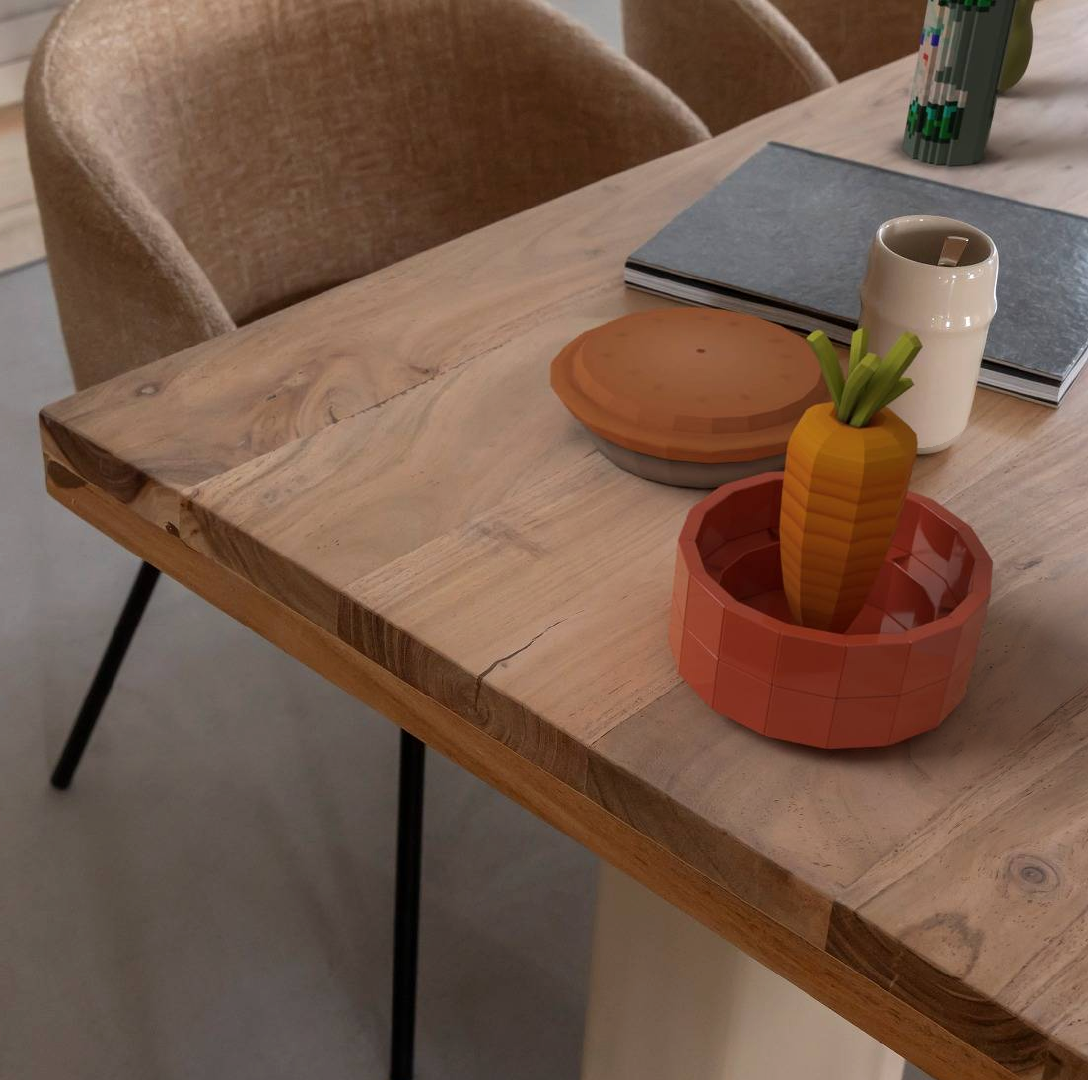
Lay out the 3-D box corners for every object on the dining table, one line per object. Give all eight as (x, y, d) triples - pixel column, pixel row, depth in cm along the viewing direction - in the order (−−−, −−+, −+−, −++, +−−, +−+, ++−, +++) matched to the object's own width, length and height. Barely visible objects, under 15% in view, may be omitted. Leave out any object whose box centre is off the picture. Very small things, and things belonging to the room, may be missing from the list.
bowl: (766, 549, 69) (781, 440, 66) (1011, 655, 63) (1043, 541, 59) (612, 674, 61) (620, 558, 58) (873, 809, 55) (900, 689, 52)
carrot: (733, 646, 62) (776, 325, 53) (806, 600, 64) (859, 288, 56) (827, 703, 59) (889, 373, 50) (899, 652, 62) (970, 331, 53)
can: (891, 140, 116) (925, -60, 107) (961, 136, 117) (1001, -63, 108) (923, 167, 111) (962, -40, 102) (996, 162, 112) (1041, -44, 103)
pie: (883, 416, 80) (899, 334, 77) (759, 547, 69) (772, 458, 66) (639, 343, 87) (645, 265, 84) (494, 452, 76) (494, 367, 73)
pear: (1033, 98, 125) (1060, -24, 119) (977, 102, 124) (1002, -21, 118) (1000, 79, 129) (1025, -40, 123) (946, 83, 128) (969, -37, 122)
